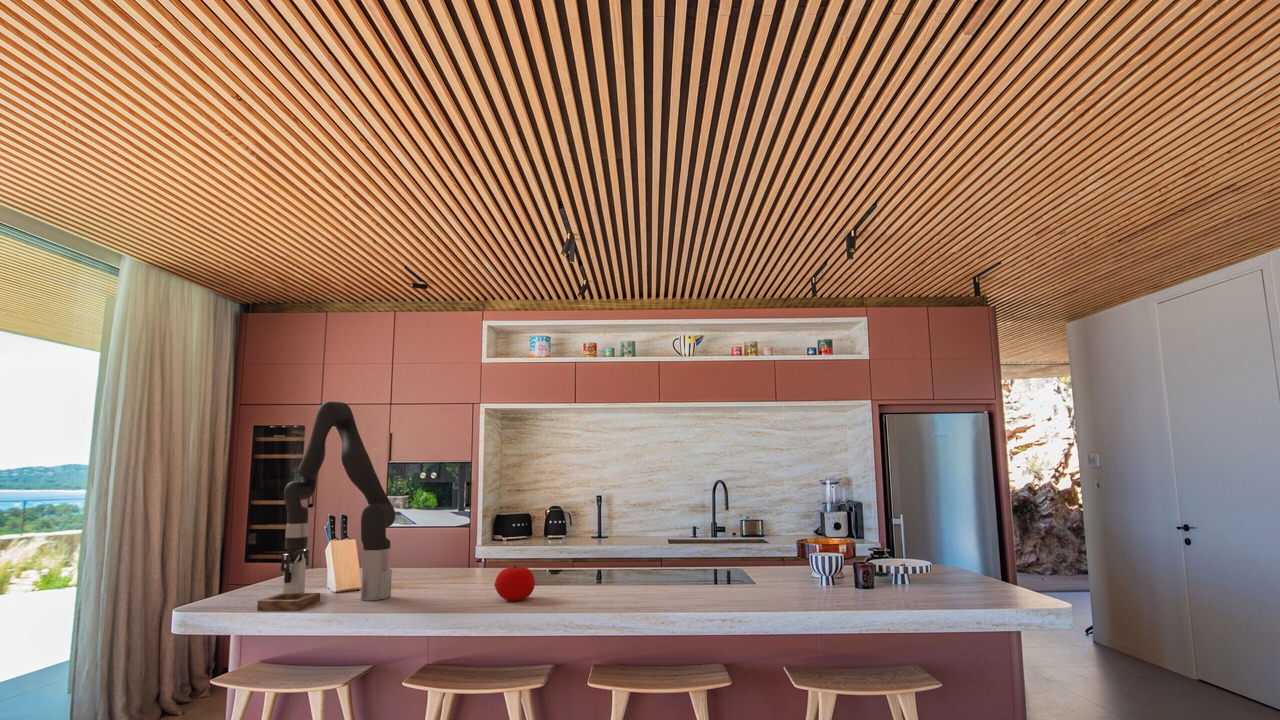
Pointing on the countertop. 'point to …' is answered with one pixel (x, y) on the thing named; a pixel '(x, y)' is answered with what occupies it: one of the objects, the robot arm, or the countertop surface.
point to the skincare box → (296, 579)
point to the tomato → (515, 583)
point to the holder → (288, 601)
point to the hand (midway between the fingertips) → (294, 580)
